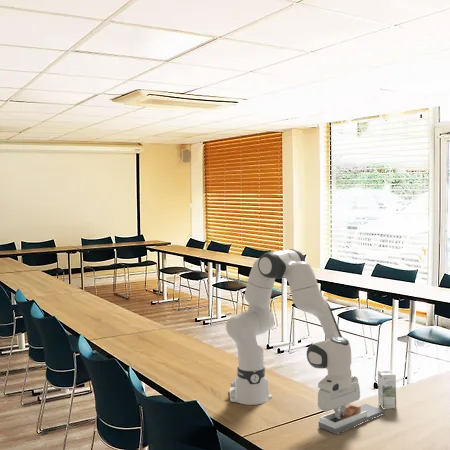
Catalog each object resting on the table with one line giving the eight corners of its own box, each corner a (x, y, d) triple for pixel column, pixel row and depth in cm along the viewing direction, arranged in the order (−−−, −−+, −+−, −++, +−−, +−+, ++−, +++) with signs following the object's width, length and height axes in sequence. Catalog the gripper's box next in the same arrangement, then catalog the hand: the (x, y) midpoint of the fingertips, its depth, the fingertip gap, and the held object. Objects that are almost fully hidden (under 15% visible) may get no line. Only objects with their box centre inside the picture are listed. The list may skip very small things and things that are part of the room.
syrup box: (392, 404, 237) (390, 369, 236) (397, 409, 231) (395, 373, 230) (378, 405, 237) (377, 370, 236) (383, 410, 231) (381, 374, 230)
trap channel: (336, 434, 208) (336, 424, 208) (318, 426, 216) (318, 416, 215) (384, 415, 226) (384, 405, 225) (365, 408, 233) (365, 399, 232)
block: (350, 420, 216) (350, 410, 216) (340, 416, 220) (340, 406, 220) (360, 416, 220) (360, 406, 219) (350, 412, 224) (350, 402, 223)
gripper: (351, 372, 224) (351, 407, 225) (314, 384, 211) (315, 420, 212) (364, 376, 219) (364, 412, 220) (327, 388, 206) (327, 426, 207)
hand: (339, 416), depth 216 cm, fingers closed
